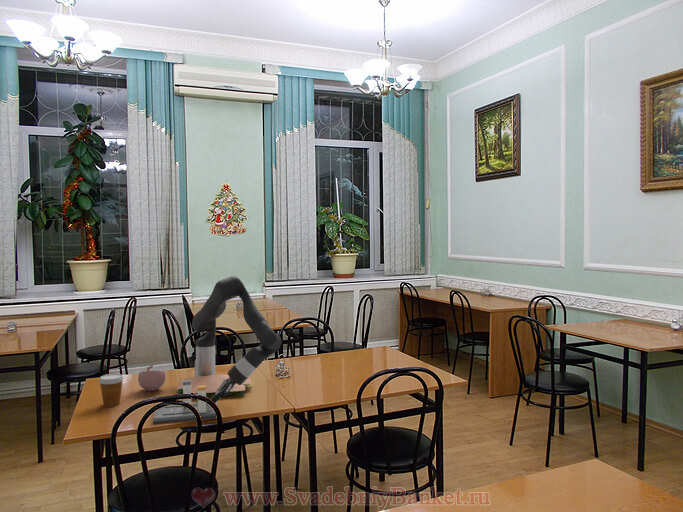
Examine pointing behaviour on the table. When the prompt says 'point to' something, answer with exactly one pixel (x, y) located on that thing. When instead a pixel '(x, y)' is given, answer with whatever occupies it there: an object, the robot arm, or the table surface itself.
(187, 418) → the console
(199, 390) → the orange fader
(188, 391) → the white fader
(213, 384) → the pink cutting board
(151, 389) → the pink apple
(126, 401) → the table surface
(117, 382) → the disposable coffee cup
